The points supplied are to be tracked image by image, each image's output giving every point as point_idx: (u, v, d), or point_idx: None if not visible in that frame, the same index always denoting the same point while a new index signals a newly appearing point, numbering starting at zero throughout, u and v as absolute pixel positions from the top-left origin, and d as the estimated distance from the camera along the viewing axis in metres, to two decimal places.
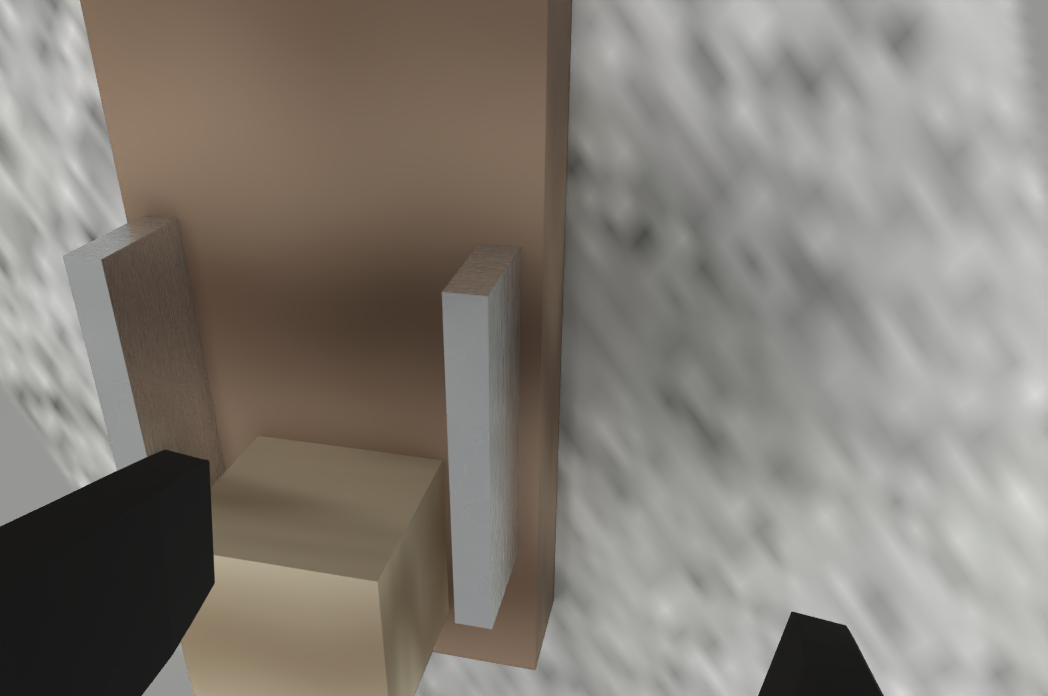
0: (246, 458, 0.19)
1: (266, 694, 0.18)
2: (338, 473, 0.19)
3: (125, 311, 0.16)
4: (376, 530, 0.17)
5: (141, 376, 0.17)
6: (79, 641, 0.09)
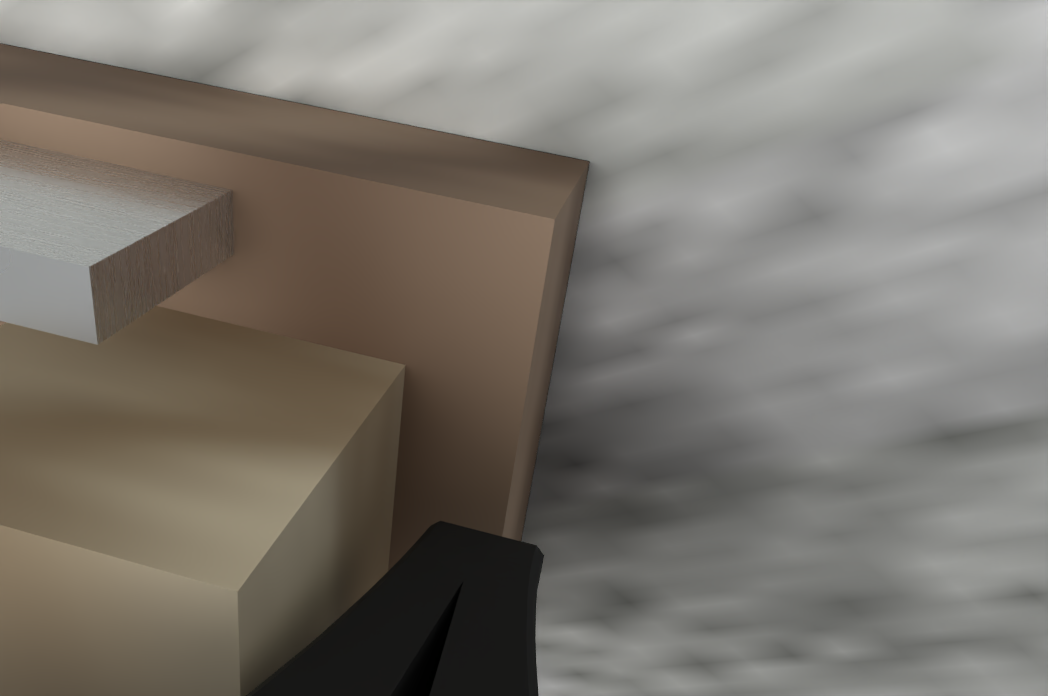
0: None
1: None
2: None
3: None
4: None
5: None
6: None
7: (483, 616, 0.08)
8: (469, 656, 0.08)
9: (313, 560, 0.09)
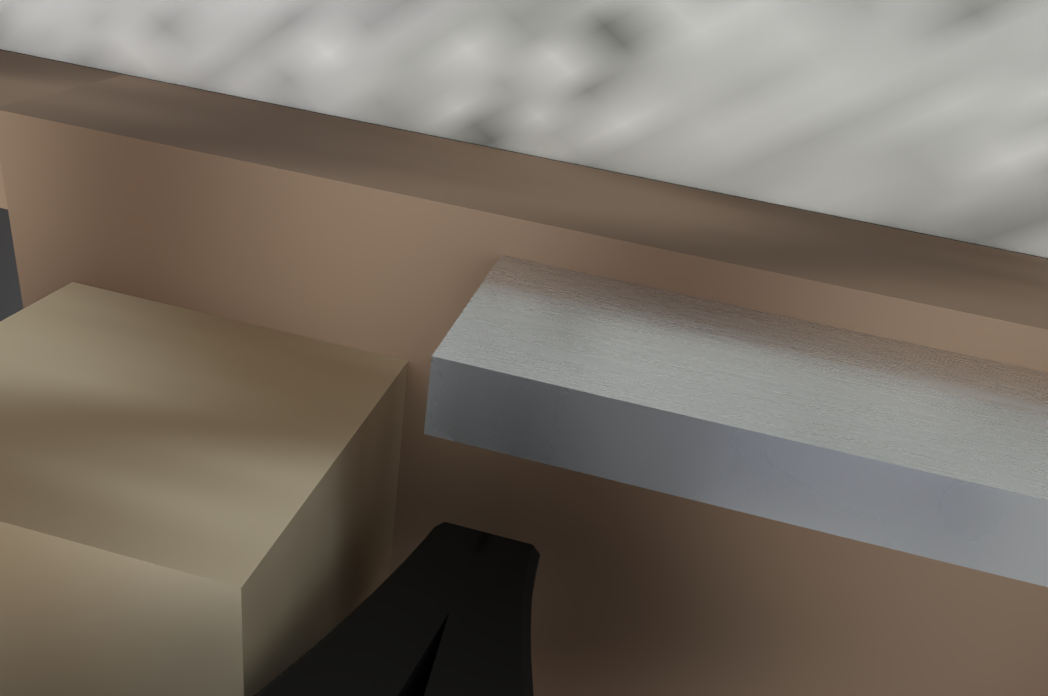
0: None
1: None
2: None
3: None
4: None
5: None
6: None
7: (479, 615, 0.08)
8: (464, 655, 0.08)
9: (316, 556, 0.08)
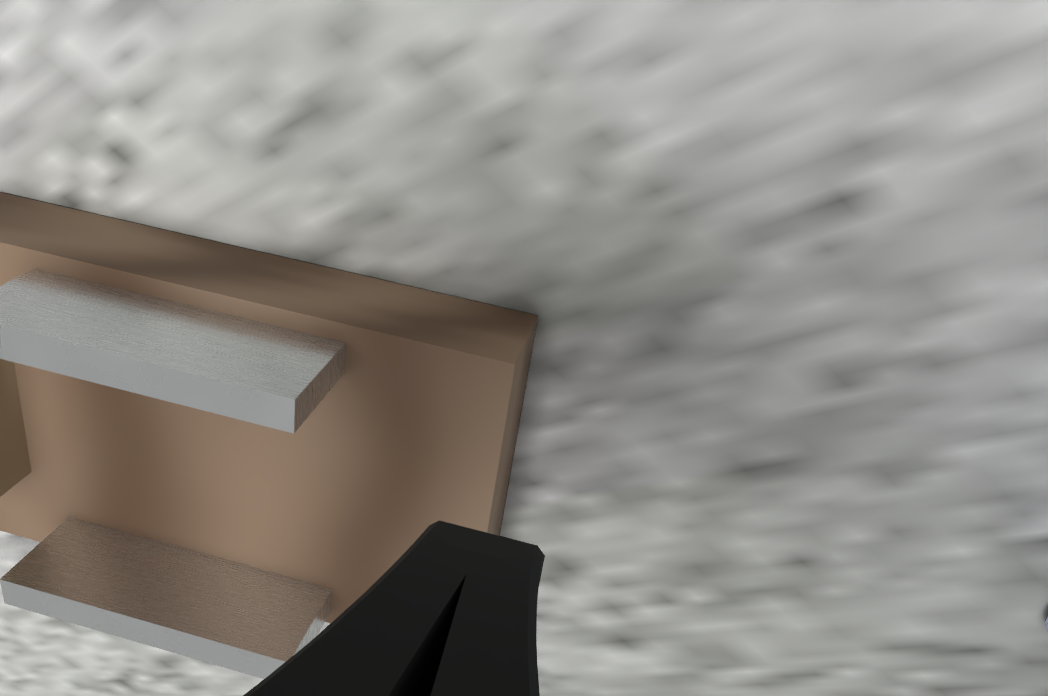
0: None
1: None
2: None
3: (53, 582, 0.21)
4: None
5: (107, 597, 0.21)
6: None
7: (484, 616, 0.08)
8: (470, 657, 0.08)
9: None
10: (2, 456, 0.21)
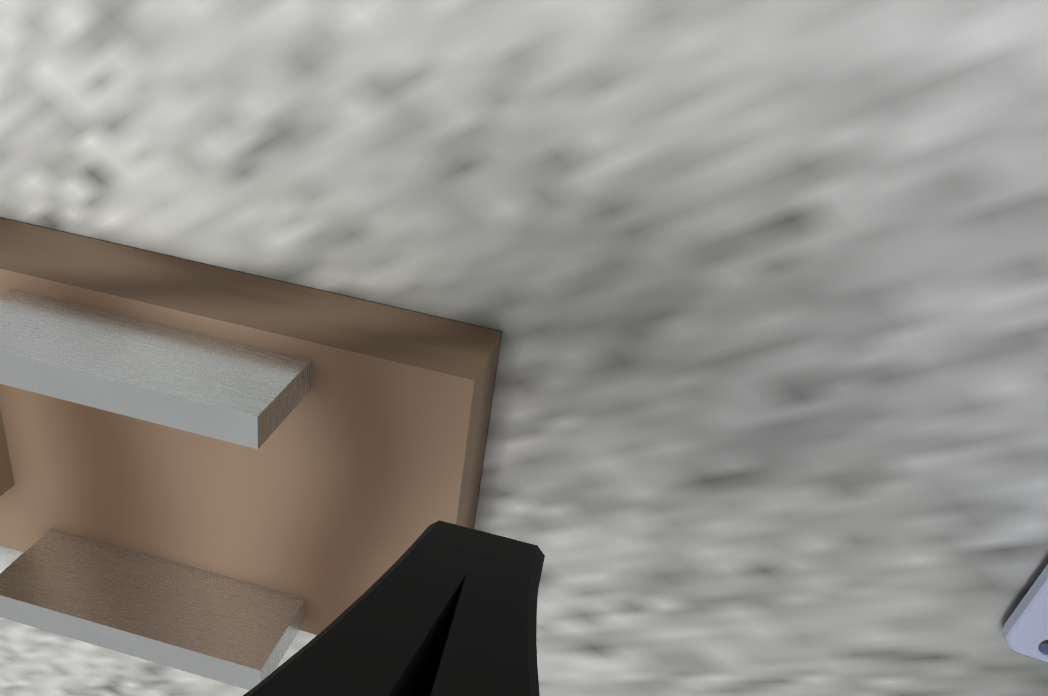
0: None
1: None
2: None
3: (33, 593, 0.21)
4: None
5: (86, 607, 0.21)
6: None
7: (484, 616, 0.08)
8: (470, 656, 0.08)
9: None
10: None
